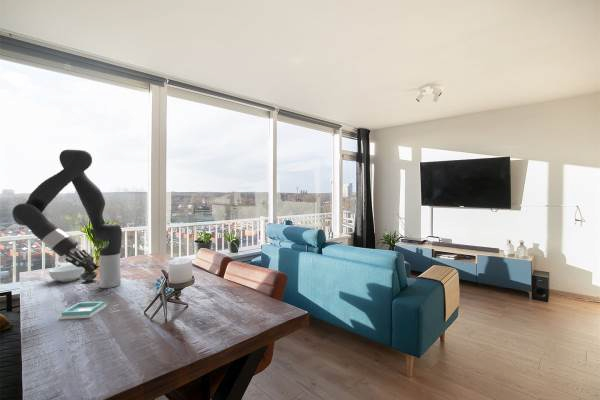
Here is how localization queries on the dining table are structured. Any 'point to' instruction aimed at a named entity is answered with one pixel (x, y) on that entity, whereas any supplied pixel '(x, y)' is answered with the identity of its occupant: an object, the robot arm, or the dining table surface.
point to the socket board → (83, 310)
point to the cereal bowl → (66, 273)
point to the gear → (160, 283)
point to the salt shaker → (86, 275)
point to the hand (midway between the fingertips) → (94, 269)
